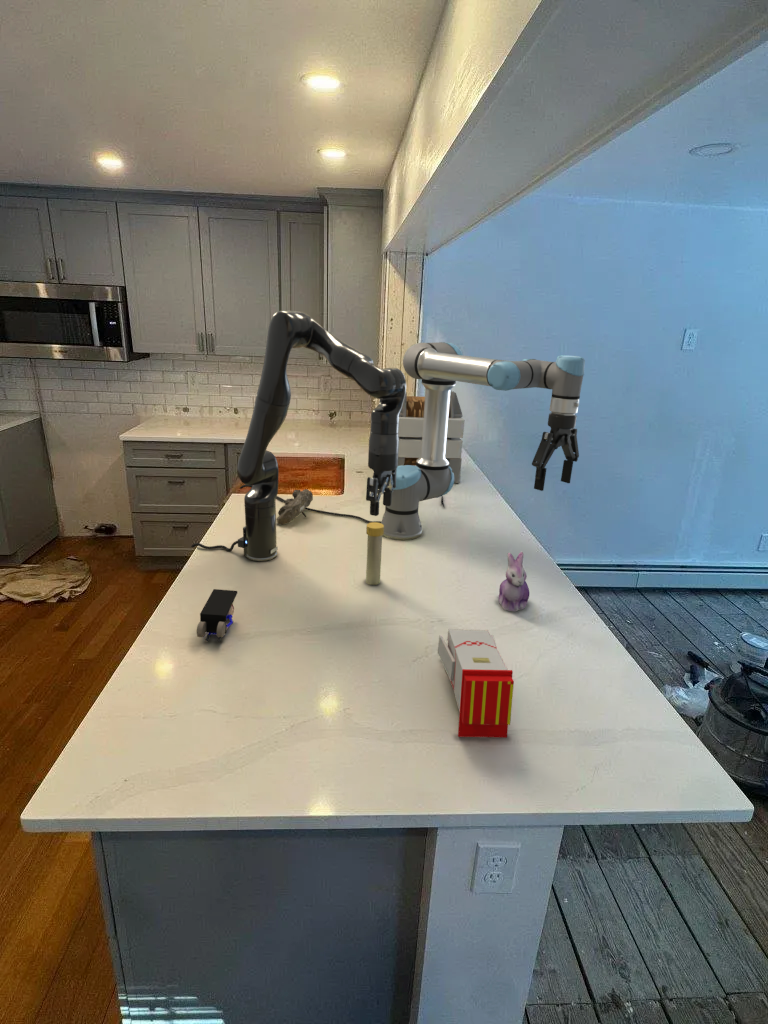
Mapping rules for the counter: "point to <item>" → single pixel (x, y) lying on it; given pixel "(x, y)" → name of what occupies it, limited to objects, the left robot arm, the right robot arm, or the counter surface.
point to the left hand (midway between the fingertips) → (380, 510)
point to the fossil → (294, 506)
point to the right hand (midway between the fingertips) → (552, 485)
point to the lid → (375, 529)
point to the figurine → (514, 585)
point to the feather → (442, 501)
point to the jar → (373, 560)
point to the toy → (478, 682)
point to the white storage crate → (413, 431)
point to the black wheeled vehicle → (217, 614)
